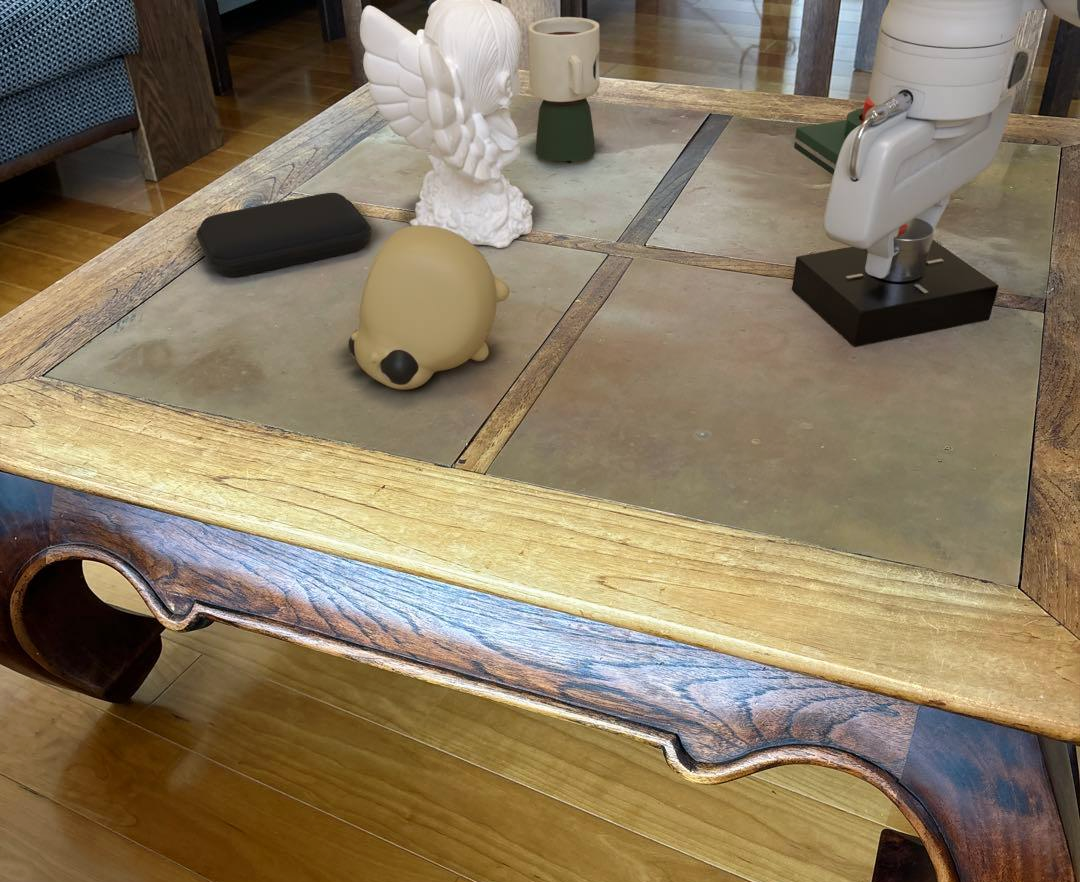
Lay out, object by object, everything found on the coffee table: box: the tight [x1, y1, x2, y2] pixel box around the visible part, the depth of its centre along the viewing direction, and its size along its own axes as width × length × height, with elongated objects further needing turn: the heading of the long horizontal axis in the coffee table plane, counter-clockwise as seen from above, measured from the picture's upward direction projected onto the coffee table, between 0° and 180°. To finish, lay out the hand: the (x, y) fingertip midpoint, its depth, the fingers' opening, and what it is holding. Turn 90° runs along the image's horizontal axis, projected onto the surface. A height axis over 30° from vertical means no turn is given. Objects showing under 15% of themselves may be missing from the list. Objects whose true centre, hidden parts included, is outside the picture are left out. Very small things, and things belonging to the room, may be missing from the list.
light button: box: [862, 96, 876, 122], centre depth 103 cm, size 4×4×2 cm
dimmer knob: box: [880, 218, 935, 282], centre depth 80 cm, size 4×4×4 cm
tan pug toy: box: [348, 225, 510, 390], centre depth 75 cm, size 10×12×11 cm
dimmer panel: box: [791, 238, 1000, 348], centre depth 82 cm, size 12×10×3 cm
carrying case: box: [195, 192, 373, 277], centre depth 93 cm, size 11×3×15 cm
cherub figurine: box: [359, 0, 534, 249], centre depth 89 cm, size 13×12×20 cm
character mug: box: [527, 16, 601, 164], centre depth 105 cm, size 11×7×13 cm, turn 14°
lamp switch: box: [793, 107, 864, 176], centre depth 105 cm, size 13×11×4 cm
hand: (898, 260), depth 80 cm, fingers closed on dimmer knob, 4 cm apart
